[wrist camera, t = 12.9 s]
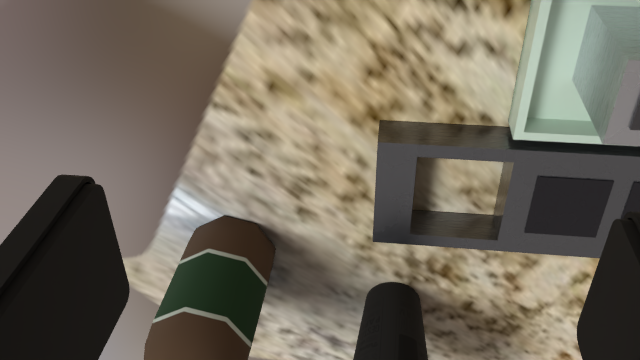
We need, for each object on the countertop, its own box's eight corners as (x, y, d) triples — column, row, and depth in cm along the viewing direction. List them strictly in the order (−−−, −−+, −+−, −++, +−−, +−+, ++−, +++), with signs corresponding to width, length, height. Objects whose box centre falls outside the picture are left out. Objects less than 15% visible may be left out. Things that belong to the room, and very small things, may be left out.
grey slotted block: (379, 120, 44) (377, 142, 42) (670, 135, 42) (686, 160, 40) (374, 217, 50) (372, 242, 47) (633, 234, 48) (645, 262, 45)
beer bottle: (295, 244, 52) (227, 539, 33) (249, 292, 57) (164, 579, 37) (218, 197, 50) (97, 481, 31) (175, 250, 55) (45, 530, 35)
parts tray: (542, -57, 36) (550, -45, 34) (759, -52, 35) (780, -39, 33) (508, 120, 43) (513, 139, 41) (688, 130, 42) (702, 149, 40)
